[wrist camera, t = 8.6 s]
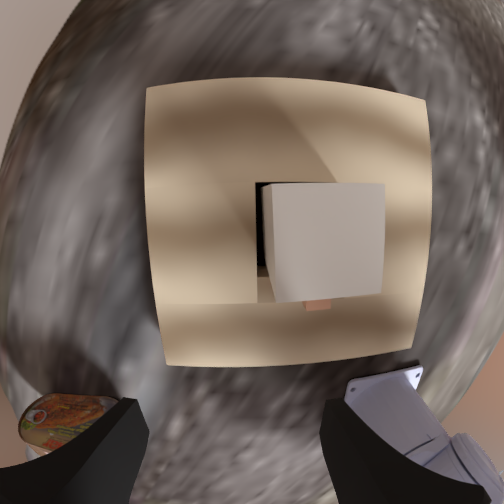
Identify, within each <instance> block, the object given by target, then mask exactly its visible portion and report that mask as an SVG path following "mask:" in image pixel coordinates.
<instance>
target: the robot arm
mask: <svg viewBox="0 0 504 504" xmlns="http://www.w3.org/2000/svg"><path fill="white" fill-rule="evenodd" d="M422 371H423V367H422V366H421V365H418V366H414V367H410V368H406V369H402V370H397V371H393V372H388V373H384V374H379V375H374V376H368V377H363V378H357V379H352V380H350V381H349V382H348V385H347V389H346V394H345V398H344V400H343V399H342V398H338V399H331V400H326V403H325V408H324V413H323V418H322V423H321V427H320V432H319V434H320V440H321V445H322V451H323V455H324V458H325V461H326V464H327V468H328V471H329V474H330V477H331V480H332V483H333V486H334V489H335V492H336V495H337V499H338V502H339V504H502V502H503V500H504V482H503V479H502V477H501V476H500V475H499V473H498V471H497V469H496V468H495V466H494V464H493V462H492V461H491V459H490V458H489V457H488V455H487V454H486V453H485V451H484V450H483V449H482V448H481V446H480V445H479V444H478V443H477V442H476V441H475V440H474V439H473V438H472V437H471V436H470V435H469V434H467V433H462V434H460V433H457V434H456V435H455V436H453V437H452V438H451V437H450V436H448V434H447V432H446V431H445V429H444V428H443V427H442V425H441V424H440V422H439V421H438V420H437V418H436V417H435V415H434V414H433V413H432V411H431V410H430V409H429V407H428V406H427V405H426V403H425V402H424V401H423V399H422V398H421V397H420V395H419V394H418V393H417V391H416V388H417V385H418V382H419V380H420V377H421V374H422ZM352 388H353V389H352ZM148 437H149V429H148V427H147V424H146V422H145V419H144V417H143V414H142V411H141V409H140V406H139V403H138V401H137V399H131V398H125V397H123V398H122V399H121V400H120V401H119V402H117V403H116V404H115V405H114V406H113V407H112V408H111V409H110V410H108V411H107V412H106V413H105V414H104V415H103V416H102V417H100V418H99V419H98V420H97V421H96V422H94V423H93V424H92V425H91V426H90V427H88V428H87V429H86V430H84V431H83V432H82V433H80V434H79V435H78V436H76V437H75V438H73V439H72V440H71V441H69V442H68V443H66V444H64V445H63V446H61V447H59V448H57V449H56V450H54V451H52V452H50V453H48V454H46V455H43V456H41V457H39V458H36V459H34V460H31V461H29V462H25V463H23V464H19V465H15V466H10V467H5V468H0V504H129V499H130V495H131V491H132V489H133V486H134V483H135V480H136V477H137V474H138V472H139V469H140V466H141V463H142V460H143V458H144V455H145V452H146V447H147V442H148Z"/></svg>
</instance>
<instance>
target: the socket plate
mask: <svg viewBox="0 0 504 504" xmlns="http://www.w3.org/2000/svg"><path fill="white" fill-rule="evenodd" d="M144 178H145V204H146V221H147V234H148V246H149V256H150V265H151V274H152V282H153V289H154V296H155V303H156V309H157V316H158V322H159V327H160V333H161V338H162V343H163V349H164V353H165V358H166V363H167V365H176V366H199V367H256V366H279V365H294V364H306V363H317V362H327V361H335V360H343V359H351V358H358V357H364V356H370V355H376V354H382V353H388V352H393V351H398V350H403V349H408V348H411V346H412V342H413V338H414V334H415V330H416V326H417V321H418V316H419V312H420V307H421V301H422V296H423V290H424V284H425V277H426V270H427V262H428V253H429V243H430V231H431V212H432V167H431V148H430V136H429V126H428V118H427V110H426V103H425V100H422V99H418V98H415V97H411V96H407V95H403V94H399V93H395V92H390V91H386V90H381V89H376V88H371V87H365V86H359V85H353V84H346V83H339V82H331V81H322V80H311V79H297V78H272V77H248V78H223V79H209V80H198V81H189V82H181V83H173V84H166V85H160V86H154V87H149V88H147V90H146V106H145V131H144ZM255 183H377V184H385V245H384V264H383V277H382V288H381V293H377V294H369V295H360V296H351V297H342V298H332V299H331V309H325V310H314V311H306V309H305V307H304V305H303V303H302V301H298V302H284V303H276V301H275V297H274V293H273V289H272V285H271V281H270V277H269V273H268V269H267V266H257V251H256V204H255Z"/></svg>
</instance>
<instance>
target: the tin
mask: <svg viewBox="0 0 504 504" xmlns="http://www.w3.org/2000/svg"><path fill="white" fill-rule="evenodd" d="M117 402H118V401H117V400H116V399H114V398H111V397H108V396H91V395H72V394H61V393H52V394H48V395H45V396H43V397H40V398H39V399H37V400H36V401H34V402H33V403H32V404H31V405H30V406H28V407H27V409H26V410H25V411H24V413H23V414H22V416H21V418H20V421H19V424H18V432H19V435H20V437H21V439H22V440H23V441H24V442H25V443H27V444H28V445H29V446H30V447H31V448H32V449H33V450H34V451H35V452H36V453H37V454H39V455H40V456H43V455H46V454H48V453H50V452H52V451H54V450H56V449H57V448H59V447H61V446H63V445H64V444H66V443H68V442H69V441H71V440H72V439H73V438H75V437H76V436H78V435H79V434H80V433H82V432H83V431H84V430H86V429H87V428H88V427H90V426H91V425H92V424H93V423H94V422H96V421H97V420H98V419H99V418H100V417H102V416H103V415H104V414H105V413H106V412H107V411H108V410H110V409H111V408H112V407H113V406H114V405H115V404H116V403H117Z"/></svg>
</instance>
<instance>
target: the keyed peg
mask: <svg viewBox="0 0 504 504" xmlns="http://www.w3.org/2000/svg"><path fill="white" fill-rule="evenodd" d="M261 205H262V225H263V246H264V258H265V261H266V265H267V269H268V273H269V277H270V281H271V285H272V289H273V293H274V297H275V301H276V303H284V302H298V301H302V303H303V305H304V307H305V309H306V311H314V310H325V309H331V299H332V298H342V297H351V296H360V295H369V294H377V293H381V288H382V277H383V264H384V245H385V184H377V183H284V184H270V185H267V186H264V187H262V188H261Z"/></svg>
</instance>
